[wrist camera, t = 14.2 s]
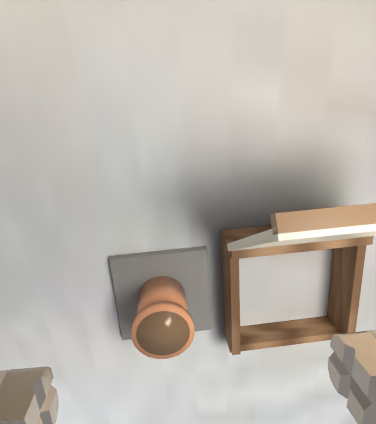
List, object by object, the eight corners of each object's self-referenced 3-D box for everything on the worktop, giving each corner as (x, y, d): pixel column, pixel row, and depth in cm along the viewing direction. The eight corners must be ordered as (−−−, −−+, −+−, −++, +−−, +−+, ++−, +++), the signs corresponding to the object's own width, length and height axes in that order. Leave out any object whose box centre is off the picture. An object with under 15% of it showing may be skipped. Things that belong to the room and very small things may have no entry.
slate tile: (123, 335, 44) (122, 340, 43) (110, 256, 40) (109, 259, 39) (210, 324, 45) (211, 329, 44) (205, 246, 41) (207, 249, 40)
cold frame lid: (279, 240, 18) (275, 213, 19) (228, 251, 35) (226, 236, 35) (549, 212, 20) (542, 186, 20) (376, 235, 36) (374, 221, 36)
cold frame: (224, 334, 46) (234, 367, 40) (220, 230, 40) (231, 251, 35) (333, 321, 47) (358, 351, 41) (343, 217, 41) (373, 236, 36)
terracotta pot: (138, 321, 42) (135, 362, 36) (132, 276, 40) (127, 310, 33) (190, 315, 43) (196, 355, 36) (186, 270, 41) (192, 303, 34)
